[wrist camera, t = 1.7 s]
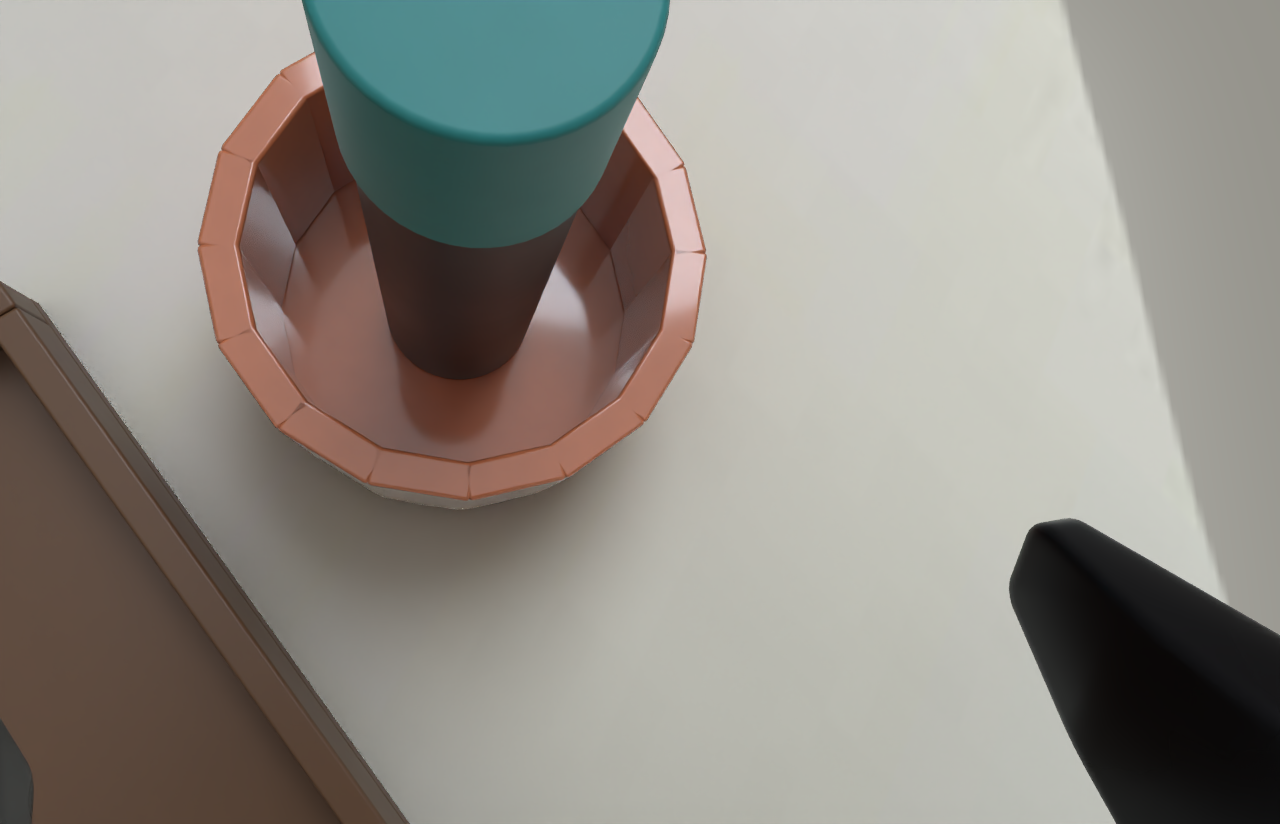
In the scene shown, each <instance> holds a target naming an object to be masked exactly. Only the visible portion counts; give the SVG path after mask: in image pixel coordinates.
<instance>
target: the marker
mask: <svg viewBox="0 0 1280 824" xmlns="http://www.w3.org/2000/svg"><path fill="white" fill-rule="evenodd" d="M302 3H303V7H304V11H305V15H306V19H307V23H308V27H309V31H310V35H311V39H312V43H313V47H314V51H315V55H316V59H317V63H318V67H319V71H320V75H321V79H322V83H323V87H324V91H325V95H326V99H327V103H328V107H329V111H330V115H331V119H332V123H333V127H334V131H335V135H336V138H337V142H338V145H339V149H340V152H341V154H342V156H343V159H344V161H345V163H346V165H347V168H348V169H349V171H350V173H351V174H352V176H353V177H354V179H355V181H356V184H357V188H358V193H359V197H360V202H361V206H362V210H363V215H364V219H365V224H366V228H367V233H368V237H369V241H370V246H371V250H372V255H373V259H374V264H375V268H376V273H377V277H378V281H379V286H380V290H381V295H382V299H383V304H384V308H385V312H386V317H387V321H388V325H389V329H390V332H391V334H392V337H393V339H394V341H395V343H396V344H397V346H398V347H399V349H400V350H401V351H402V353H403V354H404V355H405V356H406V357H407V358H408V359H409V360H410V361H411V362H412V363H414V364H415V365H416V366H418V367H419V368H421V369H422V370H424V371H426V372H428V373H431V374H433V375H436V376H439V377H443V378H448V379H471V378H476V377H480V376H483V375H486V374H488V373H490V372H493V371H494V370H496V369H498V368H499V367H501V366H502V365H503V364H505V363H506V362H507V361H508V360H509V359H510V358H511V357H512V356H513V355H514V354H515V352H516V351H517V350H518V348H519V347H520V345H521V343H522V341H523V339H524V337H525V334H526V332H527V330H528V327H529V325H530V322H531V320H532V318H533V315H534V313H535V311H536V308H537V306H538V303H539V301H540V299H541V296H542V294H543V292H544V289H545V287H546V284H547V282H548V280H549V277H550V275H551V272H552V270H553V268H554V265H555V263H556V261H557V258H558V256H559V253H560V251H561V249H562V246H563V244H564V242H565V239H566V237H567V234H568V232H569V230H570V227H571V225H572V223H573V220H574V218H575V215H576V213H577V211H578V209H579V208H580V207H581V206H582V205H583V204H584V203H585V201H586V200H587V199H588V198H589V196H590V195H591V194H592V192H593V191H594V189H595V188H596V186H597V184H598V182H599V181H600V179H601V177H602V175H603V173H604V171H605V168H606V166H607V164H608V162H609V159H610V157H611V155H612V153H613V150H614V148H615V146H616V144H617V141H618V139H619V137H620V135H621V133H622V130H623V128H624V126H625V124H626V121H627V119H628V117H629V115H630V112H631V110H632V108H633V106H634V103H635V101H636V99H637V97H638V95H639V92H640V90H641V88H642V86H643V83H644V81H645V79H646V77H647V74H648V72H649V70H650V68H651V66H652V63H653V61H654V59H655V57H656V54H657V52H658V49H659V46H660V44H661V41H662V39H663V36H664V32H665V28H666V24H667V19H668V15H669V4H670V0H302Z"/></svg>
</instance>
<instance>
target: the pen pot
mask: <svg viewBox="0 0 1280 824" xmlns="http://www.w3.org/2000/svg"><path fill="white" fill-rule="evenodd" d="M221 150H222V151H220V152H219V153H218V156H217V160H216V165H215V169H214V173H213V178H212V182H211V186H210V191H209V195H208V199H207V203H206V208H205V212H204V216H203V221H202V225H201V229H200V233H199V238H198V245H199V247H198V255H199V260H200V265H201V270H202V275H203V280H204V284H205V289H206V294H207V299H208V304H209V309H210V314H211V319H212V324H213V329H214V334H215V338H216V341H217V343H218V344H219V345H218V347H219V349H220V350H221V352H222V353H223V355H224V356H225V357H226V359H227V360H228V362H229V363H230V364H231V366H232V367H233V369H234V370H235V371H236V373H237V374H238V376H239V377H240V379H241V380H242V381H243V383H244V384H245V386H246V387H247V388H248V390H249V391H250V393H251V394H252V395H253V397H254V398H255V400H256V401H257V402H258V404H259V405H260V407H261V408H262V409H263V411H264V412H265V414H266V415H267V416H268V418H269V419H270V421H271V422H272V423H273V425H274V426H275V427H276V428H277V429H279V430H280V432H281V433H283V434H284V435H286V436H287V437H288V438H290V439H291V440H293V441H294V442H295V443H297V444H298V445H300V446H301V447H302V448H304V449H305V450H307V451H308V452H310V453H311V454H312V455H314V456H315V457H317V458H319V459H320V460H322V461H323V462H325V463H327V464H328V465H330V466H331V467H333V468H335V469H336V470H338V471H340V472H341V473H343V474H344V475H346V476H348V477H349V478H351V479H353V480H354V481H356V482H357V483H359V484H361V485H362V486H364V487H366V488H367V489H369V490H370V491H372V492H374V493H375V494H377V495H379V496H383V497H384V498H388V499H394V500H400V501H407V502H411V503H416V504H420V505H427V506H437V507H444V508H450V509H456V510H462V508H463V509H465V510H467V509H471V508H476V507H480V506H484V505H489V504H495V503H500V502H504V501H507V500H510V499H514V498H519V497H523V496H527V495H532V494H536V493H538V492H540V491H543V490H545V489H547V488H549V487H551V486H553V485H555V484H557V483H559V482H561V481H563V480H565V479H567V478H569V477H571V476H572V475H574V474H575V473H576V472H578V471H579V470H581V469H582V468H583V467H585V466H586V465H588V464H589V463H590V462H592V461H593V460H595V459H596V458H597V457H599V456H600V455H602V454H603V453H604V452H606V451H607V450H609V449H610V448H611V447H613V446H614V445H616V444H617V443H618V442H620V441H621V440H623V439H624V438H625V437H627V436H628V435H630V434H631V433H632V432H634V431H635V430H637V429H638V428H639V427H641V426H642V425H643V424H644V422H645V421H647V420H648V418H649V416H650V415H651V413H652V412H653V410H654V408H655V407H656V405H657V403H658V402H659V400H660V398H661V397H662V395H663V394H664V392H665V390H666V389H667V387H668V385H669V384H670V382H671V380H672V379H673V377H674V376H675V374H676V372H677V371H678V369H679V367H680V366H681V364H682V362H683V361H684V359H685V358H686V356H687V354H688V353H689V351H690V349H691V348H692V343H693V342H694V339H695V333H696V326H697V319H698V312H699V306H700V299H701V292H702V286H703V279H704V272H705V266H706V259H707V256H706V254H705V253H706V248H705V244H704V240H703V236H702V232H701V228H700V224H699V220H698V216H697V212H696V208H695V204H694V199H693V195H692V191H691V187H690V183H689V179H688V175H687V171H686V168H685V167H683V166H684V162H683V161H682V159H681V158H680V156H679V155H678V154H677V152H676V151H675V149H674V148H673V146H672V145H671V144H670V142H669V141H668V139H667V138H666V136H665V135H664V134H663V132H662V131H661V129H660V128H659V127H658V125H657V124H656V122H655V121H654V119H653V118H652V117H651V115H650V114H649V112H648V111H647V110H646V108H645V107H644V105H643V104H642V102H641V101H640V100H639V98H638V97H637V99H636V101H635V103H634V106H633V108H632V110H631V112H630V115H629V117H628V119H627V121H626V124H625V126H624V128H623V130H622V133H621V135H620V137H619V139H618V141H617V144H616V146H615V148H614V150H613V153H612V155H611V157H610V159H609V162H608V164H607V166H606V168H605V171H604V173H603V175H602V177H601V179H600V181H599V182H598V184H597V186H596V188H595V189H594V191H593V192H592V194H591V195H590V196H589V198H588V199H587V200H586V201H585V203H584V204H583V205H582V206H581V207H580V208H579V209H578V211H577V213H576V215H575V218H574V220H573V223H572V225H571V227H570V230H569V232H568V234H567V237H566V239H565V242H564V244H563V246H562V249H561V251H560V253H559V256H558V258H557V261H556V263H555V265H554V268H553V270H552V272H551V275H550V277H549V280H548V282H547V284H546V287H545V289H544V292H543V294H542V296H541V299H540V301H539V303H538V306H537V308H536V311H535V313H534V315H533V318H532V320H531V322H530V325H529V327H528V330H527V332H526V334H525V337H524V339H523V341H522V343H521V345H520V347H519V348H518V350H517V351H516V352H515V354H514V355H513V356H512V357H511V358H510V359H509V360H508V361H507V362H506V363H505V364H503V365H502V366H501V367H499V368H498V369H496V370H494V371H493V372H490V373H488V374H486V375H483V376H480V377H476V378H471V379H448V378H443V377H439V376H436V375H433V374H431V373H428V372H426V371H424V370H422V369H421V368H419V367H418V366H416V365H415V364H414V363H412V362H411V361H410V360H409V359H408V358H407V357H406V356H405V355H404V354H403V353H402V351H401V350H400V349H399V347H398V346H397V344H396V343H395V341H394V339H393V337H392V334H391V332H390V329H389V325H388V321H387V317H386V312H385V308H384V304H383V299H382V295H381V290H380V286H379V281H378V277H377V273H376V268H375V264H374V259H373V255H372V250H371V246H370V241H369V237H368V233H367V228H366V224H365V219H364V215H363V210H362V206H361V202H360V197H359V193H358V188H357V184H356V181H355V179H354V177H353V176H352V174H351V173H350V171H349V169H348V168H347V165H346V163H345V161H344V159H343V156H342V154H341V152H340V149H339V145H338V142H337V138H336V135H335V131H334V127H333V123H332V119H331V115H330V111H329V107H328V103H327V99H326V95H325V91H324V87H323V83H322V79H321V75H320V71H319V67H318V63H317V59H316V55H315V52H313V53H311V54H309V55H308V56H306V57H304V58H302V59H300V60H299V61H297V62H295V63H293V64H291V65H290V66H288V67H286V68H284V69H282V70H281V71H280V74H278V75H276V76H275V78H274V79H273V80H272V81H271V83H270V84H269V85H268V87H267V88H266V89H265V91H264V92H263V93H262V94H261V96H260V97H259V98H258V100H257V101H256V102H255V104H254V105H253V106H252V107H251V109H250V110H249V111H248V113H247V114H246V115H245V117H244V118H243V119H242V120H241V122H240V123H239V124H238V126H237V127H236V128H235V130H234V131H233V132H232V133H231V135H230V136H229V137H228V139H227V140H226V141H225V143H224V144H223V145H222V148H221Z"/></svg>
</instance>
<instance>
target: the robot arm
mask: <svg viewBox="0 0 1280 824" xmlns="http://www.w3.org/2000/svg"><path fill="white" fill-rule="evenodd" d="M1009 593H1010V599H1011V603H1012V606H1013V609H1014V611H1015V613H1016V616H1017V618H1018V620H1019V623H1020V625H1021V627H1022V630H1023V632H1024V634H1025V637H1026V639H1027V641H1028V644H1029V646H1030V648H1031V651H1032V653H1033V655H1034V657H1035V660H1036V662H1037V664H1038V667H1039V669H1040V671H1041V674H1042V676H1043V678H1044V681H1045V683H1046V685H1047V688H1048V690H1049V692H1050V694H1051V697H1052V699H1053V701H1054V704H1055V706H1056V708H1057V711H1058V713H1059V715H1060V718H1061V720H1062V722H1063V724H1064V727H1065V729H1066V731H1067V733H1068V735H1069V737H1070V739H1071V741H1072V744H1073V746H1074V748H1075V749H1076V751H1077V753H1078V755H1079V757H1080V759H1081V761H1082V763H1083V765H1084V766H1085V768H1086V770H1087V772H1088V774H1089V776H1090V777H1091V779H1092V781H1093V783H1094V784H1095V786H1096V788H1097V790H1098V792H1099V793H1100V795H1101V797H1102V799H1103V801H1104V802H1105V804H1106V806H1107V808H1108V810H1109V811H1110V813H1111V815H1112V817H1113V818H1114V820H1115V822H1116V824H1280V635H1279V634H1277V633H1275V632H1273V631H1272V630H1270V629H1268V628H1266V627H1265V626H1263V625H1261V624H1259V623H1258V622H1256V621H1254V620H1252V619H1251V618H1249V617H1247V616H1245V615H1244V614H1242V613H1240V612H1238V611H1237V610H1235V609H1233V608H1232V607H1230V606H1228V605H1226V604H1225V603H1223V602H1221V601H1219V600H1218V599H1216V598H1214V597H1213V596H1211V595H1209V594H1207V593H1206V592H1204V591H1202V590H1200V589H1199V588H1197V587H1195V586H1193V585H1192V584H1190V583H1188V582H1186V581H1185V580H1183V579H1181V578H1180V577H1178V576H1176V575H1174V574H1173V573H1171V572H1169V571H1167V570H1166V569H1164V568H1162V567H1160V566H1159V565H1157V564H1155V563H1153V562H1152V561H1150V560H1148V559H1147V558H1145V557H1143V556H1141V555H1140V554H1138V553H1136V552H1134V551H1133V550H1131V549H1129V548H1127V547H1126V546H1124V545H1122V544H1120V543H1119V542H1117V541H1115V540H1114V539H1112V538H1110V537H1108V536H1107V535H1105V534H1103V533H1101V532H1100V531H1098V530H1096V529H1094V528H1093V527H1091V526H1089V525H1087V524H1086V523H1084V522H1082V521H1080V520H1076V519H1071V518H1067V519H1060V520H1054V521H1048V522H1043V523H1038V524H1036V525H1034V526H1033V527H1032V528H1031V529H1030V530H1029V532H1028V533H1027V535H1026V538H1025V541H1024V543H1023V546H1022V549H1021V551H1020V554H1019V557H1018V559H1017V562H1016V565H1015V567H1014V570H1013V573H1012V575H1011V578H1010V583H1009ZM33 801H34V783H33V777H32V772H31V769H30V767H29V764H28V762H27V761H26V759H25V757H24V756H23V754H22V752H21V751H20V749H19V748H18V746H17V744H16V743H15V741H14V739H13V738H12V736H11V735H10V733H9V731H8V730H7V728H6V726H5V725H4V723H3V721H2V720H1V718H0V824H32V815H33Z"/></svg>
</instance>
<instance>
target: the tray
mask: <svg viewBox="0 0 1280 824" xmlns="http://www.w3.org/2000/svg"><path fill="white" fill-rule="evenodd" d="M0 718H1V720H2V721H3V723H4V725H5V726H6V728H7V730H8V731H9V733H10V735H11V736H12V738H13V739H14V741H15V743H16V744H17V746H18V748H19V749H20V751H21V752H22V754H23V756H24V757H25V759H26V761H27V762H28V764H29V767H30V769H31V772H32V777H33V783H34V801H33V815H32V824H409V822H408V821H407V819H406V818H405V817H404V815H403V814H402V812H401V811H400V810H399V808H398V807H397V805H396V804H395V802H394V801H393V800H392V798H391V797H390V795H389V794H388V793H387V791H386V790H385V788H384V787H383V786H382V784H381V783H380V781H379V780H378V779H377V777H376V776H375V774H374V773H373V772H372V770H371V769H370V767H369V766H368V765H367V763H366V762H365V760H364V759H363V758H362V756H361V755H360V753H359V752H358V751H357V749H356V748H355V746H354V745H353V744H352V742H351V741H350V739H349V738H348V737H347V735H346V734H345V732H344V731H343V730H342V728H341V727H340V725H339V724H338V723H337V721H336V720H335V718H334V717H333V716H332V714H331V713H330V711H329V710H328V709H327V707H326V706H325V704H324V703H323V702H322V700H321V699H320V697H319V696H318V695H317V693H316V692H315V690H314V689H313V688H312V686H311V685H310V683H309V682H308V680H307V679H306V678H305V676H304V675H303V673H302V672H301V671H300V669H299V668H298V666H297V665H296V664H295V662H294V661H293V659H292V658H291V657H290V655H289V654H288V652H287V651H286V650H285V648H284V647H283V645H282V644H281V643H280V641H279V640H278V638H277V637H276V636H275V634H274V633H273V631H272V630H271V629H270V627H269V626H268V624H267V623H266V622H265V620H264V619H263V617H262V616H261V615H260V613H259V612H258V610H257V609H256V608H255V606H254V605H253V603H252V602H251V601H250V599H249V598H248V596H247V595H246V594H245V592H244V591H243V589H242V588H241V587H240V585H239V584H238V582H237V581H236V580H235V578H234V577H233V575H232V574H231V573H230V571H229V570H228V568H227V567H226V566H225V564H224V563H223V561H222V560H221V558H220V557H219V556H218V554H217V553H216V551H215V550H214V549H213V547H212V546H211V544H210V543H209V542H208V540H207V539H206V537H205V536H204V535H203V533H202V532H201V530H200V529H199V528H198V526H197V525H196V523H195V522H194V521H193V519H192V518H191V516H190V515H189V514H188V512H187V511H186V509H185V508H184V507H183V505H182V504H181V502H180V501H179V500H178V498H177V497H176V495H175V494H174V493H173V491H172V490H171V488H170V487H169V486H168V484H167V483H166V481H165V480H164V479H163V477H162V476H161V474H160V473H159V472H158V470H157V469H156V467H155V466H154V465H153V463H152V462H151V460H150V459H149V458H148V456H147V455H146V453H145V452H144V451H143V449H142V448H141V446H140V445H139V444H138V442H137V441H136V439H135V438H134V436H133V435H132V434H131V432H130V431H129V429H128V428H127V427H126V425H125V424H124V422H123V421H122V420H121V418H120V417H119V415H118V414H117V413H116V411H115V410H114V408H113V407H112V406H111V404H110V403H109V401H108V400H107V399H106V397H105V396H104V394H103V393H102V392H101V390H100V389H99V387H98V386H97V385H96V383H95V382H94V380H93V379H92V378H91V376H90V375H89V373H88V372H87V371H86V369H85V368H84V366H83V365H82V364H81V362H80V361H79V359H78V358H77V357H76V355H75V354H74V352H73V351H72V350H71V348H70V347H69V345H68V344H67V343H66V341H65V340H64V338H63V337H62V336H61V334H60V333H59V331H58V330H57V329H56V327H55V326H54V324H53V323H52V322H51V320H50V319H49V317H48V316H47V314H46V313H45V312H44V310H43V309H42V307H41V306H40V305H39V304H38V303H37V302H35V301H33V300H32V299H29V298H27V297H26V296H24V295H22V294H21V293H19V292H17V291H16V290H14V289H12V288H11V287H9V286H7V285H6V284H4V283H2V282H1V281H0Z"/></svg>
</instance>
